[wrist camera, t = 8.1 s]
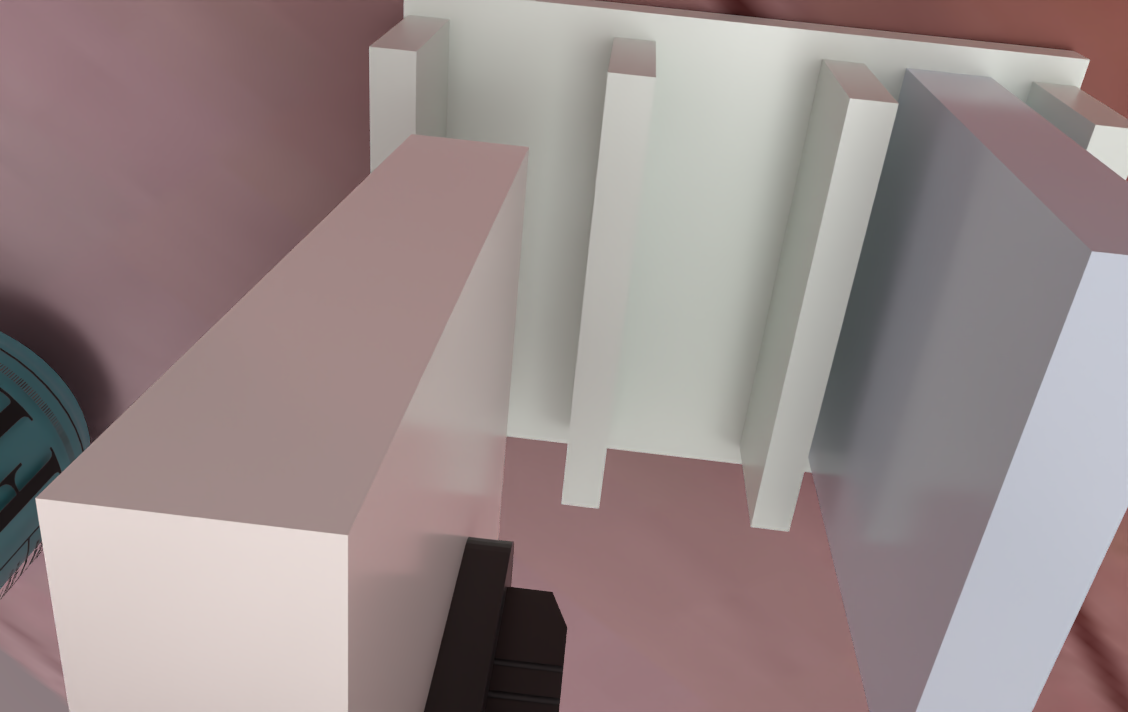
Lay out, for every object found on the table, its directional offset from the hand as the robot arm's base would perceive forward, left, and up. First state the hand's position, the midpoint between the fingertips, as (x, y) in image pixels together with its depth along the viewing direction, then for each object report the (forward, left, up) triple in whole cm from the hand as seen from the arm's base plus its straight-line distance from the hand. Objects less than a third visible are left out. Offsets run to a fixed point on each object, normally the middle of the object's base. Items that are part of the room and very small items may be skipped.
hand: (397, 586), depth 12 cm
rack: (-4, 0, -12) cm, 12 cm away
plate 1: (0, 0, -4) cm, 4 cm away
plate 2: (-8, 0, -11) cm, 13 cm away
